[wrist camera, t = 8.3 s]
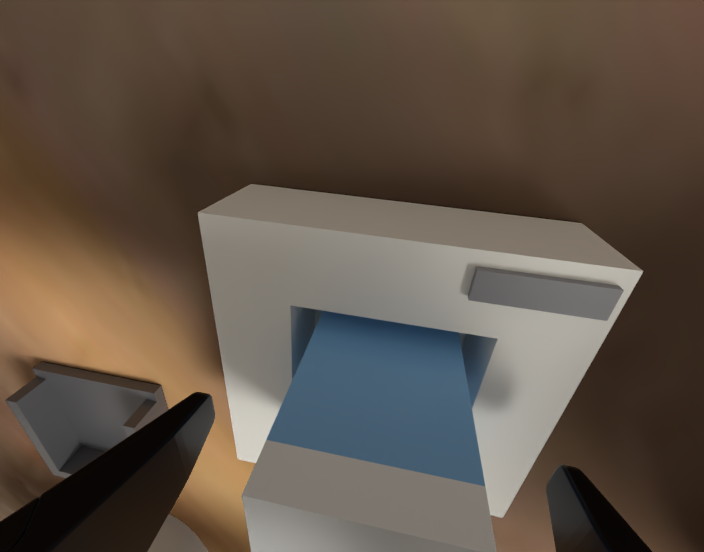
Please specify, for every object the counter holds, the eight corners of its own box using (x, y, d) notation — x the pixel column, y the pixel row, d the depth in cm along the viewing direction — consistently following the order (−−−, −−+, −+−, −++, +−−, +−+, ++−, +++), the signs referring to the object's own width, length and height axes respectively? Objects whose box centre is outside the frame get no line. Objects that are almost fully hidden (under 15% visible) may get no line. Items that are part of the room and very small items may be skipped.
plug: (430, 386, 13) (442, 644, 7) (330, 368, 13) (258, 593, 7) (453, 300, 11) (497, 555, 5) (335, 282, 11) (241, 495, 5)
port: (487, 441, 14) (504, 523, 12) (267, 398, 16) (235, 464, 13) (581, 223, 10) (649, 276, 7) (251, 183, 11) (192, 215, 8)
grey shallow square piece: (185, 466, 20) (162, 501, 18) (83, 443, 21) (53, 475, 19) (160, 385, 16) (130, 419, 15) (41, 361, 17) (-1, 391, 16)
